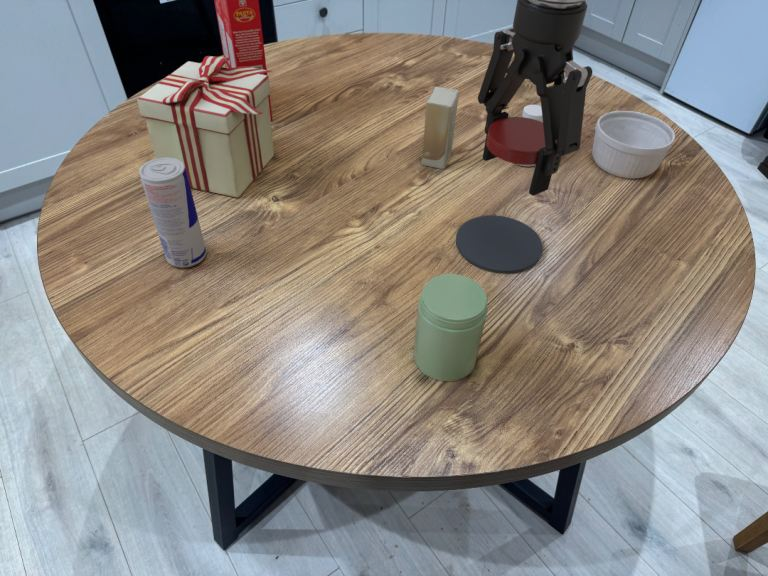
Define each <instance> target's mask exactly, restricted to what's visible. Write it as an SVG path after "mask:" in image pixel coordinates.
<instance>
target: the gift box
mask: <svg viewBox="0 0 768 576" xmlns="http://www.w3.org/2000/svg"><path fill="white" fill-rule="evenodd" d="M228 60H230V58H227V57H224V56H211V55H206V56H204V57H203V60H202V61H201V63H199V62H195V61H190V60H188V61H186V62H185V63H184V64H182V65H181V66H179V67H178V68H177V69H176V70H174V71H173V72H171V73H170V74H168V75H167V76H165V77H164V78H163V79H162V80H160V81H158V82H157V83H156V84H155V85H154V86H152V87H150V89H148V90H147V91H146V92H144V93H143V94H141V95H140V96H139V97H138V98H137V100H136V101H137V104H138V109H139V112H140V117H141V118H144V119H145V123H146V127H147V130H148V135H149V138H150V142H151V147H152V149H153V154H154V159H157V158H175V159H178V160H180V161H181V162H183V164H184V166H185V169H186V172H187V176H188V180H189V184H190V188H191V189H196V190H199V191H205V192H208V193H209V192H210V193H214V194H220V195H222V196H223V195H224V196H227V197H232V198H237V199H238V198H240V197H241V196H242V195H243V194H244V192H245V191H246V190H247V189H248V188H249V186H251V184H252V183H253V182H254V181H255V180H256V179H257V177H258V176H259V174H260V173H262V172H263V170H264V168H265V167H266V166H267V165H268V164H269V163H270V161H271V160H272V159H273V158H274V156H275V150H274V149H275V148H274V139H273V130H272V129H273V128H272V121H271V118H270V109H269V99H268V96H269V95H270V96H271V84H270V77H269V76H268V75H267V76H266V75H261V74H264V73H267V74H268V73H271V72H272V70H271V69H267V70H262V69H258V68H253V67H249V66H244V67H234V68H226V67H224V65H225V63H226V61H228Z"/></svg>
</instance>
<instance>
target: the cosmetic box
mask: <svg viewBox="0 0 768 576" xmlns="http://www.w3.org/2000/svg"><path fill="white" fill-rule="evenodd" d="M459 95H460V90H459V89H452V88H447V87H441V86H434V87H433V89H432V90H431V92H430V94H429V97H428V98H427V101H426V105H425V118H424V129H423V130H424V131H423V142H422V151H421V153H422V155H421V163H420V164H421V166H425V167H430V168H434V169H439V170H445V168H446V166H447V164H448V162H449V160H450V158H451V154H452V150H453V145H454V144H453V143H454V135H455V128H456V127H455V126H456V119H457V111H458V103H459Z"/></svg>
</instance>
